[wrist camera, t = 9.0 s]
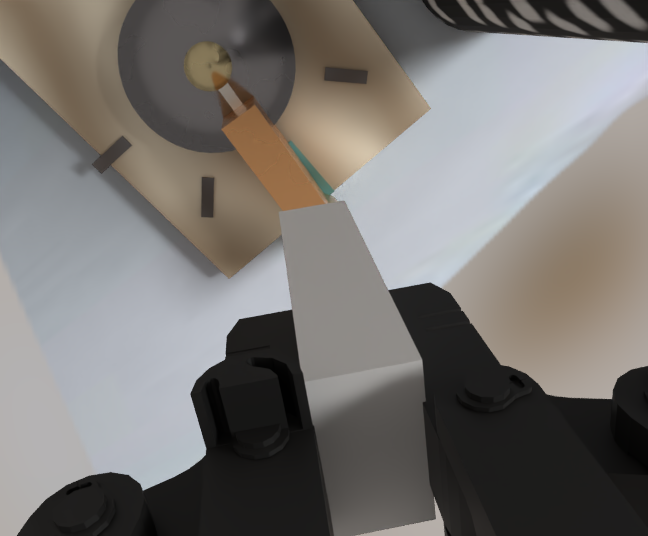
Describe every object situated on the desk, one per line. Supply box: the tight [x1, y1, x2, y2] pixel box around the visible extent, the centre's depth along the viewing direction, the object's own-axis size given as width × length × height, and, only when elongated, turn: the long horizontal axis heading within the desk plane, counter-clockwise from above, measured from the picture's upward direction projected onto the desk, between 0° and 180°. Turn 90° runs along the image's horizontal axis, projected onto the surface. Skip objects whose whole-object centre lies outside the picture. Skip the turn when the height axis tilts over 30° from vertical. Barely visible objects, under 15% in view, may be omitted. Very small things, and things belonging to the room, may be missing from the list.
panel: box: [0, 0, 431, 279], centre depth 32 cm, size 17×20×2 cm
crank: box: [118, 0, 338, 211], centre depth 31 cm, size 16×9×5 cm, turn 34°
